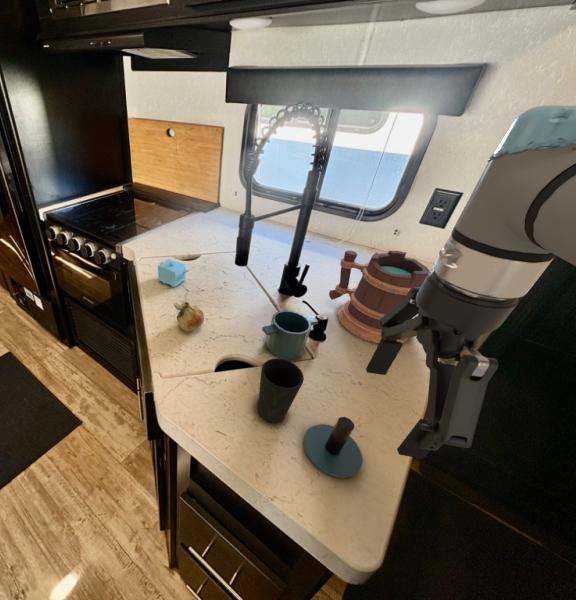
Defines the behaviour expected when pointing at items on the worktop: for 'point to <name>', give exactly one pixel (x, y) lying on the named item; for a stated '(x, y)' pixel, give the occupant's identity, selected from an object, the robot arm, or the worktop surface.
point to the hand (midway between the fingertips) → (390, 408)
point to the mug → (375, 290)
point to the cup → (278, 389)
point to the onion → (189, 316)
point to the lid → (334, 448)
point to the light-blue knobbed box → (172, 272)
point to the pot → (288, 334)
